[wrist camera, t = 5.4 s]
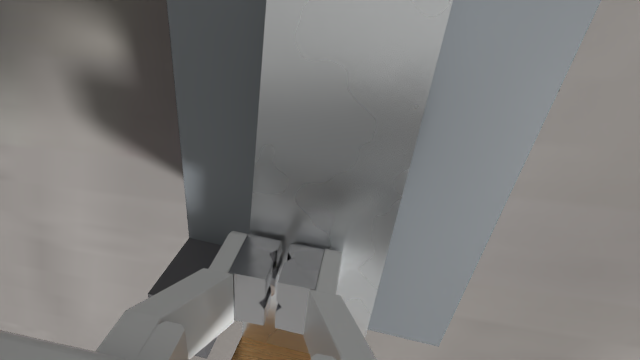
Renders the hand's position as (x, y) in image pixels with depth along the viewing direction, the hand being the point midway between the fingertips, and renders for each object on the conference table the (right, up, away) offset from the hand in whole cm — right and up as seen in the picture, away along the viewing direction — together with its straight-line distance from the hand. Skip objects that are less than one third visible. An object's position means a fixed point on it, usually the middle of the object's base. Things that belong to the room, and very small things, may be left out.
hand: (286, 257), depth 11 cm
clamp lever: (+1, +3, 0) cm, 3 cm away
